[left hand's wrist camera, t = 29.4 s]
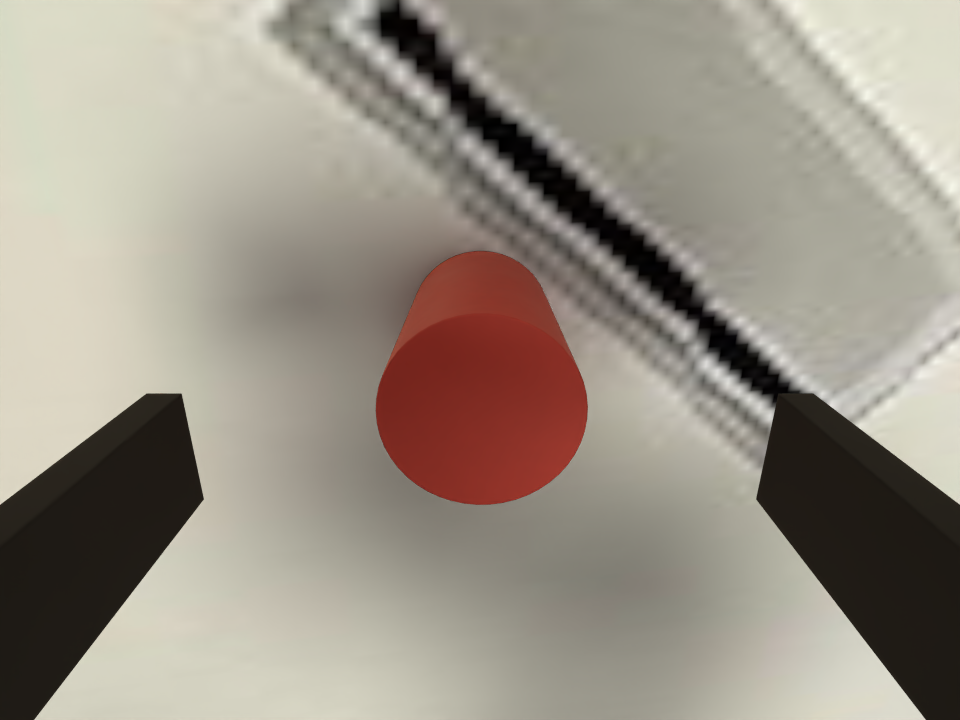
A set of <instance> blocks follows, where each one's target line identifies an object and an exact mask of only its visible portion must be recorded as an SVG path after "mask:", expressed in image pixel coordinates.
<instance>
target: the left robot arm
mask: <svg viewBox="0 0 960 720" xmlns="http://www.w3.org/2000/svg"><path fill="white" fill-rule="evenodd" d="M203 500H204V498H203V493H202V488H201V484H200V479H199V474H198V469H197V465H196V460H195V455H194V450H193V446H192V441H191V436H190V431H189V427H188V422H187V417H186V412H185V408H184V403H183V398H182V394H146V395H144V396H143V397H142V398H140V399H139V400H138V401H136V402H135V403H134V404H132V405H131V406H130V407H128V408H127V409H126V410H124V411H123V412H122V413H121V414H119V415H118V416H117V417H115V418H114V419H113V420H111V421H110V422H109V423H107V424H106V425H105V426H103V427H102V428H101V429H99V430H98V431H97V432H95V433H94V434H93V435H92V436H90V437H89V438H88V439H86V440H85V441H84V442H82V443H81V444H80V445H78V446H77V447H76V448H74V449H73V450H72V451H70V452H69V453H68V454H67V455H65V456H64V457H63V458H61V459H60V460H59V461H57V462H56V463H55V464H53V465H52V466H51V467H49V468H48V469H47V470H45V471H44V472H43V473H42V474H40V475H39V476H38V477H36V478H35V479H34V480H32V481H31V482H30V483H28V484H27V485H26V486H24V487H23V488H22V489H20V490H19V491H18V492H16V493H15V494H14V495H13V496H11V497H10V498H9V499H7V500H6V501H5V502H3V503H2V504H1V505H0V720H34V719H35V718H36V717H37V715H38V714H39V713H40V711H41V710H42V709H43V707H44V706H45V705H46V704H47V702H48V701H49V700H50V698H51V697H52V696H53V694H54V693H55V692H56V691H57V689H58V688H59V687H60V685H61V684H62V683H63V681H64V680H65V679H66V678H67V676H68V675H69V674H70V672H71V671H72V670H73V668H74V667H75V666H76V665H77V663H78V662H79V661H80V659H81V658H82V657H83V656H84V654H85V653H86V652H87V650H88V649H89V648H90V646H91V645H92V644H93V643H94V641H95V640H96V639H97V637H98V636H99V635H100V633H101V632H102V631H103V630H104V628H105V627H106V626H107V624H108V623H109V622H110V620H111V619H112V618H113V617H114V615H115V614H116V613H117V611H118V610H119V609H120V607H121V606H122V605H123V604H124V602H125V601H126V600H127V598H128V597H129V596H130V594H131V593H132V592H133V591H134V589H135V588H136V587H137V585H138V584H139V583H140V581H141V580H142V579H143V578H144V576H145V575H146V574H147V572H148V571H149V570H150V568H151V567H152V566H153V565H154V563H155V562H156V561H157V559H158V558H159V557H160V555H161V554H162V553H163V552H164V550H165V549H166V548H167V546H168V545H169V544H170V542H171V541H172V540H173V539H174V537H175V536H176V535H177V533H178V532H179V531H180V529H181V528H182V527H183V526H184V524H185V523H186V522H187V520H188V519H189V518H190V517H191V515H192V514H193V513H194V511H195V510H196V509H197V507H198V506H199V505H200V504H201V502H202V501H203ZM756 500H757V501H758V502H759V504H760V505H761V506H762V507H763V509H764V510H765V511H766V513H767V514H768V515H769V517H770V518H771V519H772V520H773V522H774V523H775V524H776V526H777V527H778V528H779V530H780V531H781V532H782V533H783V535H784V536H785V537H786V539H787V540H788V541H789V542H790V544H791V545H792V546H793V548H794V549H795V550H796V552H797V553H798V554H799V555H800V557H801V558H802V559H803V561H804V562H805V563H806V565H807V566H808V567H809V568H810V570H811V571H812V572H813V574H814V575H815V576H816V578H817V579H818V580H819V581H820V583H821V584H822V585H823V587H824V588H825V589H826V591H827V592H828V593H829V594H830V596H831V597H832V598H833V600H834V601H835V602H836V604H837V605H838V606H839V607H840V609H841V610H842V611H843V613H844V614H845V615H846V617H847V618H848V619H849V620H850V622H851V623H852V624H853V626H854V627H855V628H856V630H857V631H858V632H859V633H860V635H861V636H862V637H863V639H864V640H865V641H866V643H867V644H868V645H869V646H870V648H871V649H872V650H873V652H874V653H875V654H876V656H877V657H878V658H879V659H880V661H881V662H882V663H883V665H884V666H885V667H886V668H887V670H888V671H889V672H890V674H891V675H892V676H893V678H894V679H895V680H896V681H897V683H898V684H899V685H900V687H901V688H902V689H903V691H904V692H905V693H906V694H907V696H908V697H909V698H910V700H911V701H912V702H913V704H914V705H915V706H916V707H917V709H918V710H919V711H920V713H921V714H922V715H923V717H924V718H925V719H926V720H960V505H959V504H958V503H957V502H955V501H954V500H953V499H951V498H950V497H949V496H947V495H946V494H945V493H943V492H942V491H941V490H940V489H938V488H937V487H936V486H934V485H933V484H932V483H930V482H929V481H928V480H926V479H925V478H924V477H922V476H921V475H920V474H918V473H917V472H916V471H915V470H913V469H912V468H911V467H909V466H908V465H907V464H905V463H904V462H903V461H901V460H900V459H899V458H897V457H896V456H895V455H893V454H892V453H891V452H890V451H888V450H887V449H886V448H884V447H883V446H882V445H880V444H879V443H878V442H876V441H875V440H874V439H872V438H871V437H870V436H868V435H867V434H866V433H865V432H863V431H862V430H861V429H859V428H858V427H857V426H855V425H854V424H853V423H851V422H850V421H849V420H847V419H846V418H845V417H843V416H842V415H841V414H839V413H838V412H837V411H836V410H834V409H833V408H832V407H830V406H829V405H828V404H826V403H825V402H824V401H822V400H821V399H820V398H818V397H817V396H816V395H814V394H778V398H777V403H776V408H775V412H774V417H773V422H772V427H771V431H770V436H769V441H768V446H767V450H766V455H765V460H764V465H763V469H762V474H761V479H760V484H759V488H758V493H757V498H756Z"/></svg>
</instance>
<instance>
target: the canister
mask: <svg viewBox="0 0 960 720" xmlns="http://www.w3.org/2000/svg"><path fill="white" fill-rule="evenodd" d="M587 411H588V404H587V394H586V390H585V386H584V382H583V379H582V377H581V374H580V372H579V369H578V367H577V365H576V363H575V360H574V358H573V356H572V354H571V352H570V349H569V347H568V345H567V343H566V340H565V338H564V336H563V334H562V332H561V329H560V327H559V325H558V323H557V320H556V318H555V316H554V314H553V312H552V309H551V307H550V305H549V303H548V300H547V298H546V296H545V294H544V291H543V289H542V287H541V286H540V284H539V282H538V281H537V279H536V278H535V277H534V275H533V274H532V273H531V272H530V271H529V270H528V269H527V268H526V267H524V266H523V265H522V264H520V263H519V262H517V261H515V260H514V259H512V258H510V257H507V256H505V255H502V254H498V253H494V252H487V251H474V252H467V253H463V254H460V255H456V256H454V257H452V258H449V259H447V260H446V261H444V262H443V263H441V264H440V265H438V266H437V267H436V268H435V269H433V270H432V271H431V273H430V274H429V275H428V276H427V277H426V278H425V280H424V281H423V283H422V284H421V286H420V288H419V290H418V292H417V294H416V297H415V299H414V302H413V304H412V306H411V309H410V311H409V313H408V316H407V318H406V321H405V323H404V325H403V328H402V330H401V332H400V335H399V337H398V340H397V342H396V344H395V347H394V349H393V351H392V354H391V356H390V359H389V361H388V363H387V366H386V368H385V370H384V373H383V375H382V378H381V381H380V384H379V388H378V393H377V398H376V419H377V426H378V430H379V434H380V437H381V439H382V442H383V444H384V447H385V449H386V450H387V452H388V454H389V456H390V458H391V459H392V460H393V462H394V463H395V464H396V466H397V467H398V468H399V469H400V470H401V471H402V472H403V473H404V474H405V475H406V476H407V477H408V478H409V479H410V480H412V481H413V482H414V483H415V484H417V485H418V486H420V487H421V488H423V489H425V490H426V491H428V492H430V493H432V494H434V495H437V496H439V497H442V498H445V499H448V500H451V501H455V502H460V503H465V504H476V505H484V504H497V503H504V502H508V501H512V500H516V499H519V498H521V497H524V496H527V495H529V494H531V493H533V492H535V491H537V490H539V489H540V488H542V487H543V486H545V485H546V484H548V483H549V482H551V481H552V480H553V479H554V478H555V477H556V476H558V475H559V474H560V473H561V471H562V470H563V469H564V468H565V467H566V466H567V465H568V463H569V462H570V461H571V459H572V458H573V456H574V455H575V453H576V451H577V449H578V447H579V445H580V443H581V440H582V438H583V435H584V432H585V427H586V422H587Z"/></svg>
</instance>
